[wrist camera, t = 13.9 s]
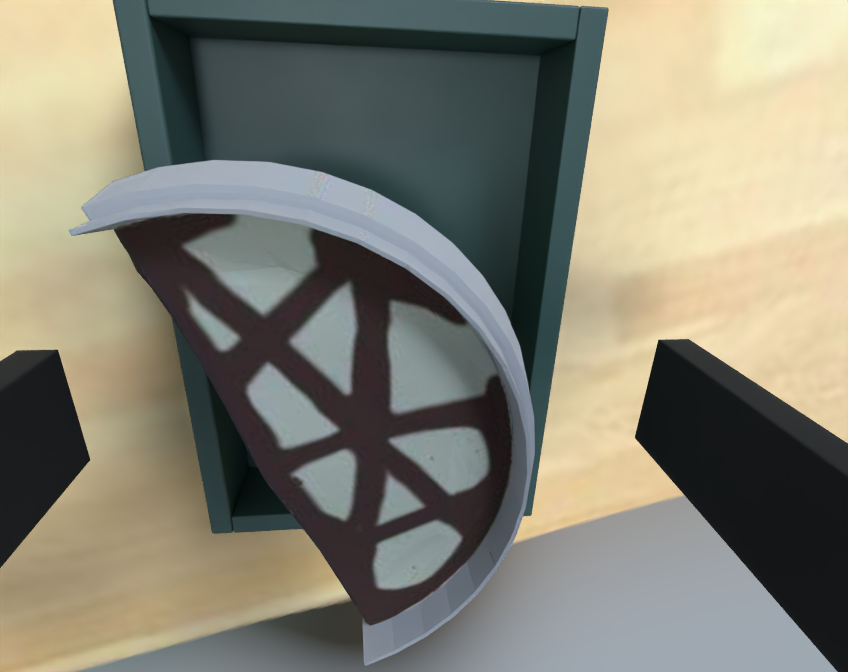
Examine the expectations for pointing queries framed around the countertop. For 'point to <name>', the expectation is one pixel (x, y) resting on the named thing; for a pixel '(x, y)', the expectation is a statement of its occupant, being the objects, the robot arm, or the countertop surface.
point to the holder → (381, 149)
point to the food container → (346, 372)
